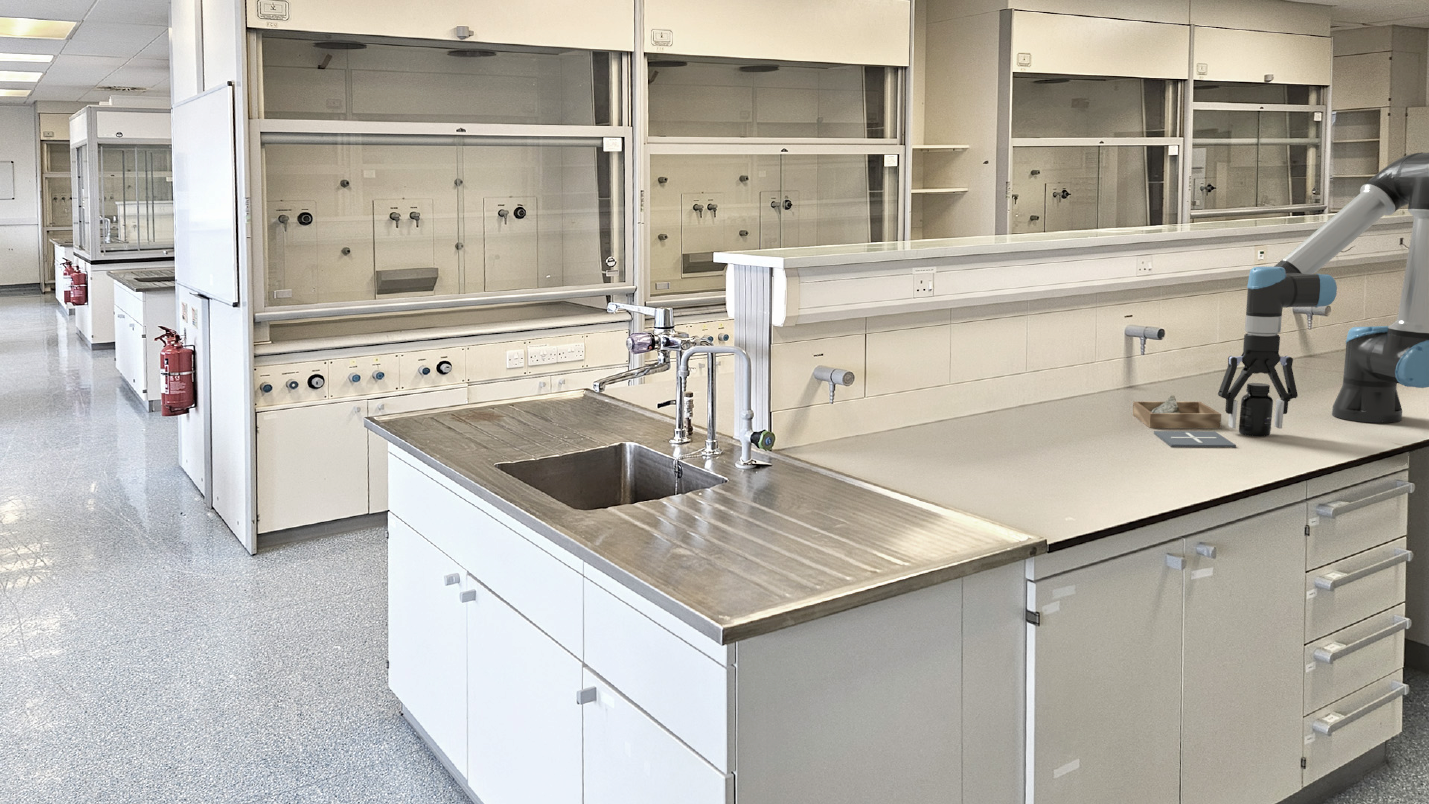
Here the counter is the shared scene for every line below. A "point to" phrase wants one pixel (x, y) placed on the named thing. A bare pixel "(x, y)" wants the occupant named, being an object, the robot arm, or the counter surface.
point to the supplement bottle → (1256, 411)
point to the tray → (1178, 415)
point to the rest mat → (1194, 439)
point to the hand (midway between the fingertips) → (1254, 427)
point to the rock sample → (1167, 406)
